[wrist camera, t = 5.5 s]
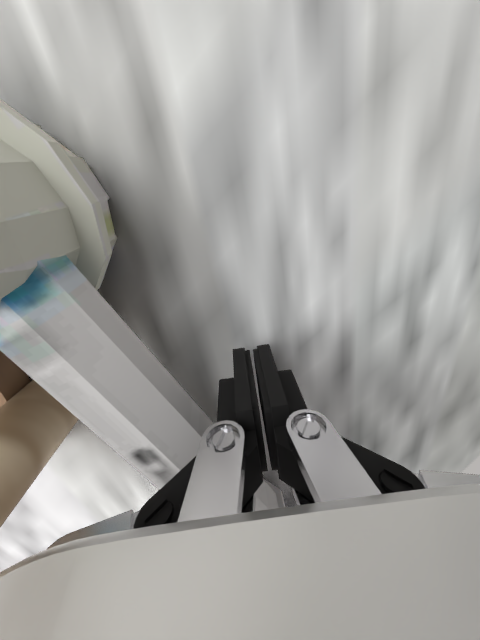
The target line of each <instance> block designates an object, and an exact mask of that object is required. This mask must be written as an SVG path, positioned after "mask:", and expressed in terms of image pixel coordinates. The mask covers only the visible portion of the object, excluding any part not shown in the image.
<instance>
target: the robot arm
mask: <svg viewBox="0 0 480 640" xmlns="http://www.w3.org/2000/svg"><path fill="white" fill-rule="evenodd" d="M253 353H254V361H255V368H256V376H257V383H258V390H259V398H260V404H261V410H262V415H263V421H264V427H265V433H266V438H267V444H268V450H269V455H270V461H271V467H272V470H277V469H278V474H279V479H281V480H282V481H284V482H285V483H286V484H288V485H289V486H291V488H292V493H293V496H294V498H295V501H296V504H297V506H290V507H283V508H275V509H268V510H261V511H255V504H256V498H255V492H256V491H257V489H258V488H259V487H260V486H261V484H262V483H263V476H262V472H263V471H268V470H267V463H266V455H265V448H264V441H263V434H262V427H261V419H260V412H259V406H258V399H257V393H256V387H255V381H254V375H253V369H252V363H251V356H250V350H247V351H245V348H239V349H233V364H234V378H228V379H221V380H219V396H218V416H217V423H214V424H213V425H211V426H210V427H208V429H207V430H206V431H205V432H204V434H203V436H202V439H201V442H200V446H199V449H198V453H197V455H196V456H195V457H194V458H193V459H192V460H191V461H190V462H189V463H188V464H187V465H186V466H185V467H184V468H182V469H181V470H180V471H179V472H178V473H177V474H176V475H175V476H174V477H173V478H172V479H171V480H170V481H169V482H167V483H166V484H165V485H164V486H163V487H162V488H161V489H160V490H159V491H158V492H157V493H156V494H155V495H154V496H152V497H151V498H150V499H149V500H148V501H147V502H146V503H145V505H144V506H143V507H142V508H141V510H140V511H138V512H135V513H133V511H132V510H130V511H127V512H124V513H122V514H119V515H117V516H114V517H111V518H109V519H106V520H103V521H101V522H98V523H95V524H93V525H90V526H88V527H85V528H82V529H80V530H77V531H74V532H72V533H69V534H67V535H65V536H63V537H61V538H59V539H58V540H56V541H55V542H54V543H53V544H52V545H51V546H50V547H48V548H47V550H44V551H42V552H39V553H37V554H35V555H32V556H30V557H28V558H26V559H24V560H22V561H20V562H19V563H17V564H15V565H13V566H11V567H9V568H7V569H5V570H4V571H2V572H0V640H480V475H475V474H474V475H473V474H463V473H451V472H438V471H426V470H419V474H415V473H412V472H411V471H409V470H408V469H406V468H405V467H403V466H401V465H399V464H397V463H395V462H393V461H391V460H389V459H387V458H385V457H382V456H380V455H378V454H376V453H374V452H372V451H370V450H368V449H366V448H364V447H362V446H360V445H358V444H355V443H353V442H351V441H349V440H347V439H345V438H343V437H341V436H340V435H339V433H338V432H337V431H336V429H335V428H334V426H333V425H332V424H331V422H330V421H329V419H328V418H327V417H326V416H325V415H323V414H322V413H320V412H318V411H315V410H310V409H307V407H306V404H305V402H304V400H303V397H302V395H301V392H300V390H299V388H298V385H297V383H296V380H295V378H294V375H293V373H292V371H291V370H284V371H277V368H276V365H275V362H274V359H273V356H272V352H271V349H270V346H269V344H267V345H260V346H257V349H254V350H253Z"/></svg>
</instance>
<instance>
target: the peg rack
mask: <svg viewBox="0 0 480 640" xmlns="http://www.w3.org/2000/svg"><path fill="white" fill-rule="evenodd" d="M78 420H79V419H78V418H77V417H75V416H74V415H73V414H72V413H71V412H70V411H69V410H68V409H66V408H65V407H64V406H63V405H62V404H61V403H60V402H58V401H57V400H56V399H55V398H54V397H53V396H52V395H50V394H49V393H48V392H47V391H46V390H45V389H44V388H42V387H41V386H40V385H39V384H38V383H37V382H36V381H34V380H32V381H30V379H29V378H28V376H27V374H26V373H25V372H24V371H23V370H22V369H21V368H20V367H18V366H17V365H16V364H15V363H14V362H13V361H12V360H11V359H9V358H8V357H7V356H6V355H5V354H4V353H3V352H1V351H0V527H1V526H2V524H3V523H4V522H5V520H6V519H7V517H8V516H9V515H10V513H11V512H12V511H13V509H14V508H15V506H16V505H17V504H18V502H19V501H20V500H21V498H22V497H23V495H24V494H25V493H26V491H27V490H28V489H29V487H30V486H31V484H32V483H33V482H34V480H35V479H36V477H37V476H38V475H39V473H40V472H41V471H42V469H43V468H44V466H45V465H46V464H47V462H48V461H49V460H50V458H51V457H52V455H53V454H54V453H55V451H56V450H57V449H58V447H59V446H60V444H61V443H62V442H63V440H64V439H65V437H66V436H67V435H68V433H69V432H70V431H71V429H72V428H73V426H74V425H75V424H76V422H77V421H78Z"/></svg>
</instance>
